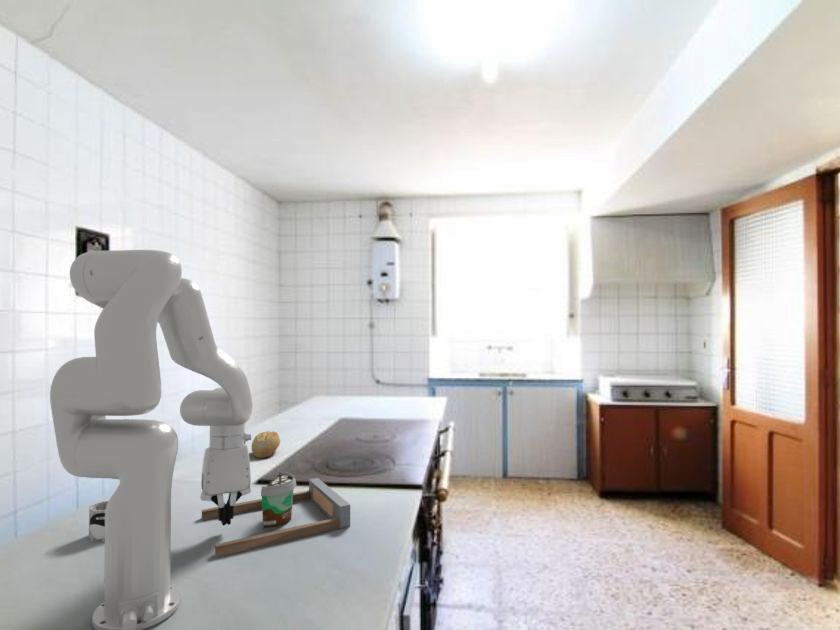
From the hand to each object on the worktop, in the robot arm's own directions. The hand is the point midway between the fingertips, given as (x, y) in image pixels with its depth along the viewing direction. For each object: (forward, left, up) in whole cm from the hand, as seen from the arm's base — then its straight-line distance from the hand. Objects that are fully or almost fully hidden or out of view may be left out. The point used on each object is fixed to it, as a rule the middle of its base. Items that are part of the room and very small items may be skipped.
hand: (225, 522), depth 110 cm
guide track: (+1, -10, -2) cm, 10 cm away
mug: (+13, +22, -3) cm, 25 cm away
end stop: (+1, -25, -2) cm, 25 cm away
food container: (+1, -13, -3) cm, 13 cm away
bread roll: (+64, -24, -3) cm, 68 cm away
